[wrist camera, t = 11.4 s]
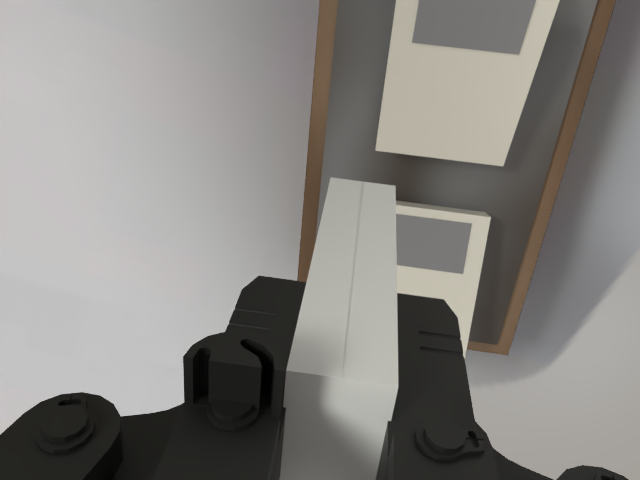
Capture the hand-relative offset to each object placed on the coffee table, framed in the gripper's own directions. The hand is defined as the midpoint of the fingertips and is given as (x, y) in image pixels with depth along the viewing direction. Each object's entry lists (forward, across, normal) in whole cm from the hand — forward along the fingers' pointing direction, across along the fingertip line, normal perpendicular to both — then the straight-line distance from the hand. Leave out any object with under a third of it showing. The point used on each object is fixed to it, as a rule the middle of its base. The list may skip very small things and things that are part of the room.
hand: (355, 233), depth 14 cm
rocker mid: (+12, +3, +2) cm, 13 cm away
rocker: (+12, +3, -9) cm, 15 cm away
